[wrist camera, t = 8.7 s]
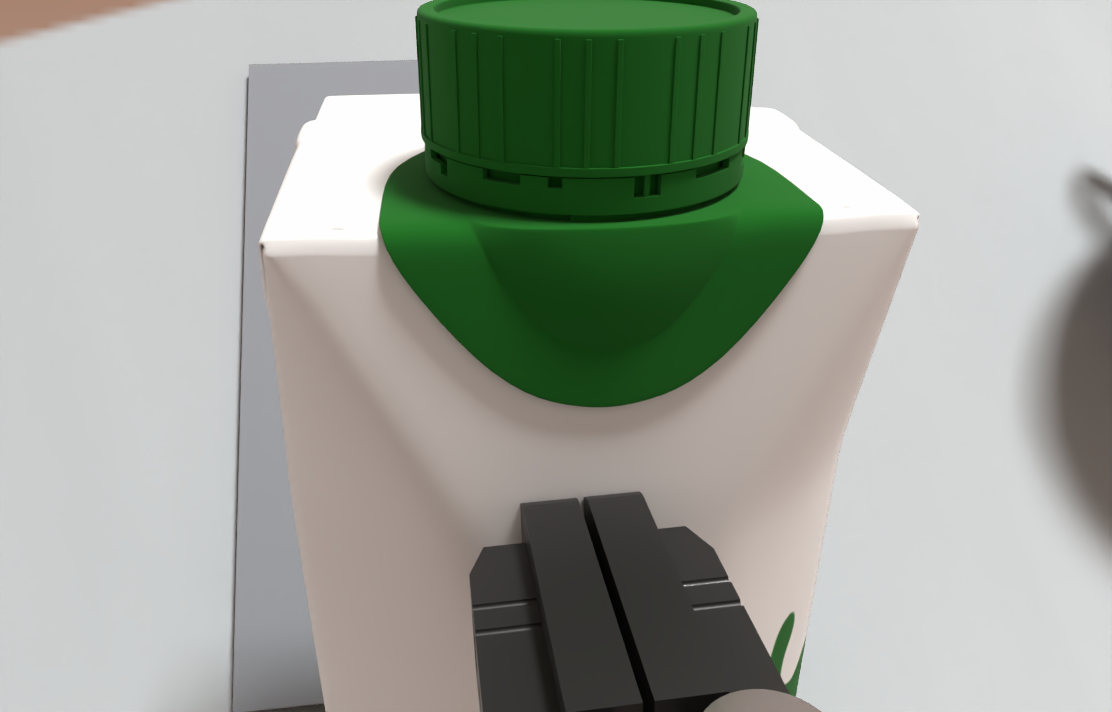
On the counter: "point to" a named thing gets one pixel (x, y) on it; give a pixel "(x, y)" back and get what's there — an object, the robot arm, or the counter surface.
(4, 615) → the counter surface
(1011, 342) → the counter surface
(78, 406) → the counter surface
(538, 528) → the robot arm
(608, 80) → the milk carton
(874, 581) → the counter surface
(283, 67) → the slate mat
